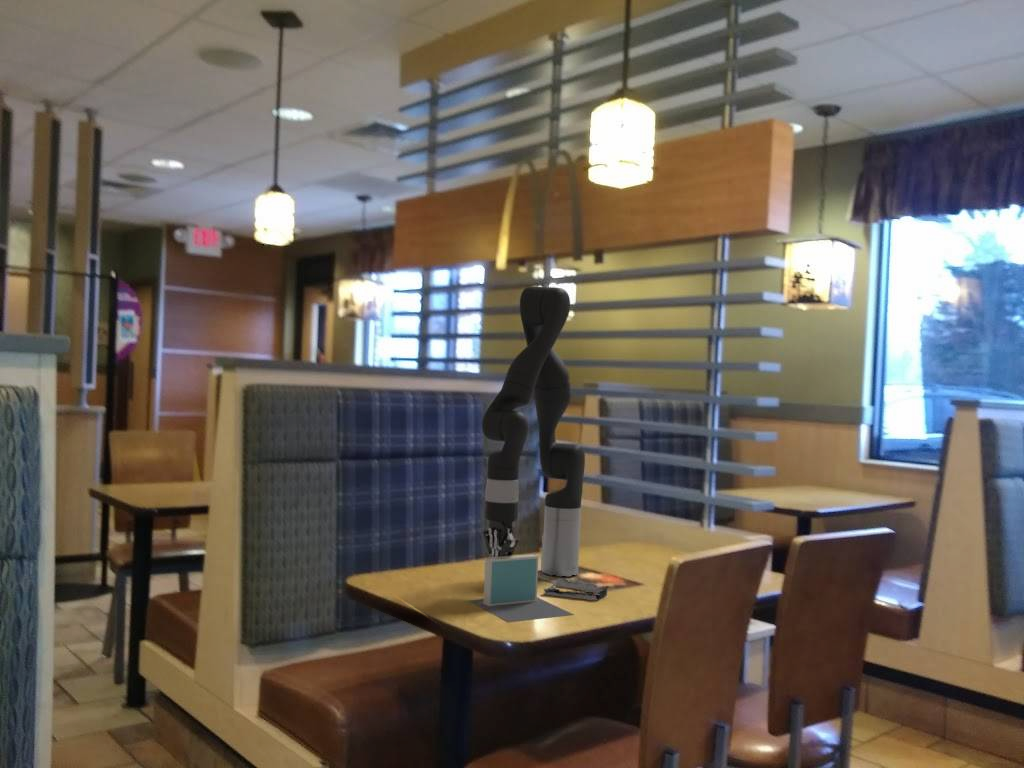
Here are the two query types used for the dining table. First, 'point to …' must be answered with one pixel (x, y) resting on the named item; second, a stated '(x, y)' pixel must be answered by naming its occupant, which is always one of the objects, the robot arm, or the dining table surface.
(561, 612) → the rubber mat
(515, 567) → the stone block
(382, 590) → the dining table surface
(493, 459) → the robot arm
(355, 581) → the dining table surface
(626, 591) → the dining table surface
